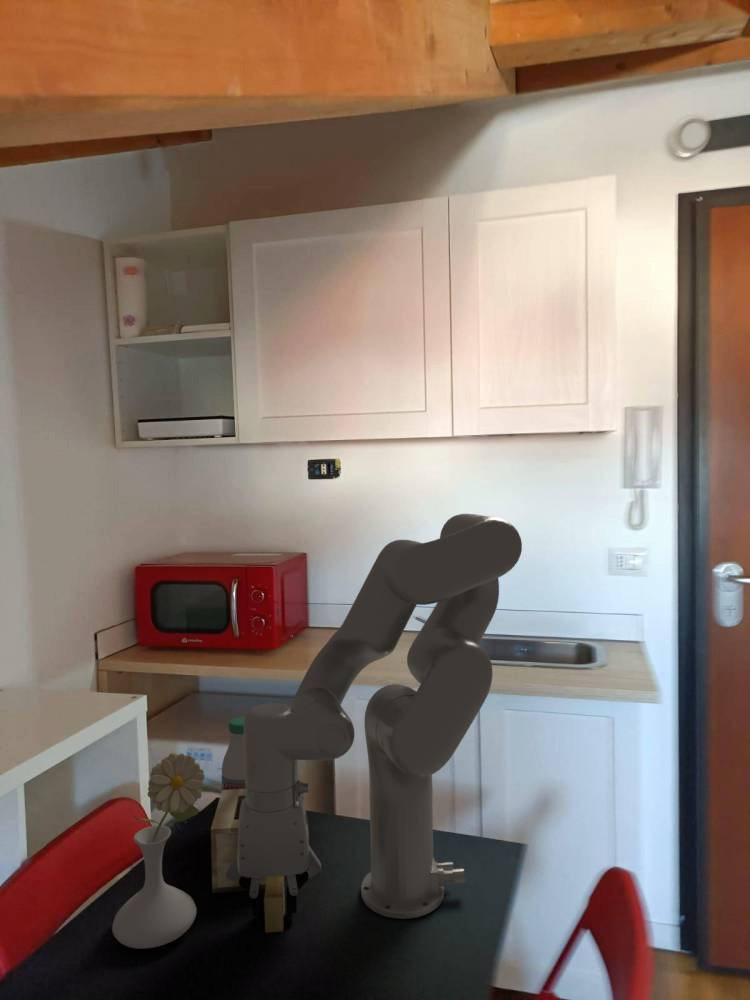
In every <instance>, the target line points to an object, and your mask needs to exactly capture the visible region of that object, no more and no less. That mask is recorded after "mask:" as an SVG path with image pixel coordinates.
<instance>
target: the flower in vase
mask: <svg viewBox="0 0 750 1000" xmlns="http://www.w3.org/2000/svg"><path fill="white" fill-rule="evenodd" d="M204 773H205V771H204V769H202V768H201V767H200V763H198V762H196V758H195V756H192V755H190V754H187V755H185V754H184V753H179V754H178V753H173V752H171V753H169V755H168V756H166V757H164V758H163V759H161V762H160V763H156V765H155V766H153V767H152V769H151V771H150V775H149V776H150V779H149V780H148V787H147V791H148V792H147V797H148V798H151V803H152V804H154V805H156V807H155V808H156V809H157V811H162V812H163V813H164V815H163V816H162V818H161V820H160V822H158V821H156V820H154V819H150V818H141V817H137V816H136V815H133V817H134V819H136V820H138V821H142V822H143V821H144V822H148V823H154V824H155V823H156V824H158V825H152V826H147V827H144V828H141V829H140V830H139V831H137V832H136V833H135V834H134V836H133V841H134V843H135V844H136V845H137V846H138V847H139V849H140V850H141V853H142V856H143V861H144V873H145V876H144V878H145V880H144V884H143V887H142V888H141V889H140V890H139V891H138V892H136V893H135V894H134V895H133V896H131V897H130V898H129V899H128V900H127V901H126V902H125V903H124V904H122V906H121V907H120V908H119V910H118V911H117V913H116V914H115V917H114V920H113V923H112V926H111V930H112V931H111V932H112V935H113V937H114V938H115V939H116V940H117V941H118V942H119V943H121V944H122V945H123V946H126V947H127V948H132V949H137V950H139V949H141V950H142V949H143V950H144V949H145V950H146V949H152V948H157V947H161V946H165V945H167V944H168V943H169V944H170V943H171V942H173V941H175V940H177V939H178V938H180V937H182V936H183V935H184V934H185V933H187V931H188V930H189V929H190V927H191V926H192V925H193V923H194V921H195V919H196V918H197V917H196V916H197V911H198V909H197V906H196V904H195V901H194V899H193V898H192V896H190V895H189V894H188V893H187V892H185V891H183V890H182V889H179V888H177V887H175V886H173V885H169V884H168V883H166V882H165V881H164V877H163V864H162V863H163V855H164V848H165V845H166V842H167V841H168V839H169V838H170V836H171V834H172V830H171V829H170V828H169V827H168V826H165V825H162V824H163V823H164V822H165V819H166V817H167V815H168V814H170V816H171V817H173V818H174V819H175V820H176V821H178V822H184V821H186V820H188V819H190V818H192V817H194V816H195V815H196V814H198V813H199V812H200V810H199V809H198V808H197V807H196V806H195V804H196V802H197V801H198V800H199V799H201V798H202V795H203V794H202V792H203V789H204V787H205V782H204V779H205V777H206V776H205V774H204Z"/></svg>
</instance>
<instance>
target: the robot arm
mask: <svg viewBox="0 0 750 1000" xmlns="http://www.w3.org/2000/svg"><path fill="white" fill-rule="evenodd" d="M522 548H523V543H522V539H521V536H520V534H519V531H518V529H517V528H516V527H515V526H514V525H513V524H512V523H510V522H509V521H508V520H506V519H503V518H501V517H497V516H490V515H489V516H488V515H482V514H475V513H460V514H456V515H454V516H451V517H450V518H449V519H448V520H446V522H444V524H443V526H442V529H441V531H440V536H439V538H437V539H434V540H430V541H427V542H419V541H417V540H411V539H396V540H393V541H391V542H389V543H388V544H386V545H385V546H384V547H382V550H381V551H380V552H379V553H378V556H377V557H376V559H375V561H374V563H373V564H372V567H371V568H370V570H369V572H368V575H367V576H366V578H365V580H364V582H363V584H362V587H360V590H359V591H358V593H357V596H356V597H355V600H354V602H353V603H352V605H351V607H350V609H349V611H348V613H347V614H346V616H345V619H344V620H343V622H342V624H341V625H340V627H338V629H337V630H336V631H335V632H334V633H333V634H332V635H331V637H330V639H329V640H328V641H327V642H326V643H325V645H323V647H322V648H321V649H320V650H319V651H318V653H317V654H316V656H315V657H314V659H313V660H312V662H311V664H310V665H309V668H308V669H307V671H306V673H305V675H304V677H303V679H302V681H301V682H300V684H299V687H298V689H297V691H296V693H295V695H294V696H293V700H292V703H291V706H290V705H288V704H285V703H278V702H269V703H262V704H258V705H256V706H253V707H251V708H250V709H248V710H247V712H246V713H245V715H244V717H245V718H244V758H245V797H246V798H245V799H243V800H242V802H241V807H240V814H239V824H238V841H237V853H236V855H235V856H234V858H233V860H232V861H231V863H230V865H229V867H228V868H227V872H226V877H227V878H228V879H230V880H232V881H234V882H236V883H239V885H240V886H241V887H242V888H244V889H245V890H246V892H247V893H248V895H249V897H250V898H251V902H252V904H251V906H252V908H251V909H252V911H251V913H252V917H256V925H257V926H262V925H263V922H264V916H265V902H264V897H265V896H264V889H263V888H262V885H261V884H260V877H269V876H286V878H287V886H286V894H285V895H286V896H285V904H286V905H285V907H286V908H285V909H286V923H287V924H292V922H293V914H297V913H298V893H299V890H300V889H302V887H303V886H304V885H305V884H306V883H307V882H308V881H309V879H311V878H313V877H314V876H316V875H317V874H319V873H320V872H321V871H322V862H321V861H320V859H319V858H318V857H317V855H316V854H315V852H314V850H313V849H312V847H311V846H310V835H309V834H310V833H309V822H308V812H307V807H306V806H307V805H306V801H305V798H304V794H307V793H309V782H303V781H301V780H300V779H299V761H316V762H317V761H318V762H319V761H320V762H321V761H322V762H325V761H326V762H327V761H333V760H336V759H339V758H341V757H343V756H344V755H345V754H347V752H349V750H350V749H351V748H352V746H353V743H354V740H355V727H354V724H353V721H352V719H351V718H350V716H349V715H348V714H347V712H346V711H345V710H344V708H343V707H342V703H343V700H344V698H345V697H346V695H347V694H348V691H349V689H350V687H351V686H352V684H353V682H354V681H355V679H356V678H357V677H358V676H359V674H360V672H362V671H363V669H364V668H366V667H367V666H368V665H370V664H372V663H374V662H376V661H379V660H382V659H384V658H386V657H387V656H389V655H391V654H392V653H393V651H394V650H395V648H396V647H397V644H398V643H399V641H400V639H401V637H402V635H403V633H404V631H405V628H406V627H407V624H408V622H409V621H410V620H411V617H412V615H413V613H414V611H415V609H416V607H417V606H418V605H419V606H425V605H426V606H427V605H432V604H435V607H434V608H433V610H432V611H431V612H430V614H429V616H428V618H427V620H426V621H425V623H424V624H423V625H422V626H421V627H422V628H421V629H420V631H419V632H418V633H417V636H416V637H415V638H414V640H413V641H412V644H411V645H410V647H409V650H408V652H407V656H406V663H407V664H406V665H407V668H408V670H409V673H410V674H411V675H412V676H413V677H414V679H415V680H416V682H418V683H419V684H420V685H419V686H418V688H417V690H415V689H413V688H412V687H410V686H407V685H404V684H399V683H398V684H397V683H395V684H387V685H384V686H382V687H380V688H379V689H378V690H377V691H376V692H374V693H373V694H372V696H371V698H370V699H369V700H368V702H367V705H366V709H365V711H364V712H365V713H364V734H365V735H364V736H365V743H366V751H367V759H368V760H367V761H368V779H369V782H368V783H369V826H370V827H369V831H370V833H369V834H370V835H369V836H370V837H369V838H370V842H369V843H370V872H369V873H367V874H366V875H365V876H364V877H363V880H362V882H361V887H360V893H361V898H362V901H363V902H364V904H365V906H367V907H368V908H369V909H370V910H371V911H372V912H374V913H376V914H377V915H381V916H383V917H386V918H391V919H397V920H407V919H415V918H420V917H423V916H425V915H428V914H430V913H432V912H433V911H435V910H436V909H437V908H438V907H439V906H440V905H441V904H442V902H443V900H444V896H445V885H446V884H462V883H463V884H464V883H465V882H466V874H465V869H464V868H463V867H462V868H454V862H453V861H444V862H438V861H437V860H435V857H434V829H433V827H434V823H433V822H434V821H433V820H434V819H433V817H434V815H433V790H434V789H433V775H434V774H436V773H437V772H438V771H440V770H441V769H442V768H444V766H445V765H446V764H447V763H448V762H449V761H450V759H451V758H452V757H453V755H454V754H455V752H456V750H457V749H458V747H459V746H460V744H461V742H462V741H463V739H464V738H465V735H466V734H467V732H468V730H469V729H470V727H471V725H472V724H473V722H474V720H475V719H476V717H477V715H478V714H479V712H480V710H481V708H482V706H483V705H484V703H485V702H486V699H487V697H488V696H489V693H490V690H491V687H492V682H493V665H492V661H491V659H490V656H489V654H488V653H487V651H486V650H485V649H484V648H483V646H481V645H480V643H481V641H482V639H483V637H484V635H485V633H486V631H487V629H488V627H489V625H490V623H491V622H492V619H493V618H494V616H495V613H496V610H497V608H498V603H499V597H500V580H499V579H500V577H503V576H504V575H507V574H508V573H509V572H510V571H511V570H512V569H514V567H515V566H516V565H517V563H518V561H519V560H520V558H521V554H522V551H523V549H522Z"/></svg>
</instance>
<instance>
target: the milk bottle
mask: <svg viewBox="0 0 750 1000" xmlns="http://www.w3.org/2000/svg"><path fill="white" fill-rule="evenodd" d="M244 718H245V716H239V717H235V718H233V719H231V720H229V722H228V730H229V732H228V735H229V736H230V740H229V743H228V745H227V746H228V747H227V750H226V752H225V754H224V757H223V760H222V765H221V791H222V790H231V789H245V758H244Z"/></svg>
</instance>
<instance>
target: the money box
mask: <svg viewBox="0 0 750 1000" xmlns="http://www.w3.org/2000/svg"><path fill="white" fill-rule="evenodd" d="M245 798H246V797H245V789H231V790H222V789H221V793H220V796H219V800H218V804H217V807H216V810H215V813H214V814H215V815H214V816H213V819H212V824H211V828H210V846H211V848H210V851H211V852H210V853H211V854H210V855H211V884H212V885H211V886H212V888H211V889H212V890H211V891H212V893H213V894H215V893H217V894H219V893H231V892H243V891H244V892H245V891H246V890H245V889H244V888H242V887H241V886H240V885H239V883H236V882H234V881H232V880H230V879H228V878H227V877H226V872H227V868H228V867H229V865H230V863H231V861H232V860H233V858H234V856H235V855H236V853H237V841H238V824H239V814H240V807H241V802H242V800H243V799H245ZM269 877H276V876H269ZM266 881H267V877H260V884H261V885H262V888H263V890H265V889H266ZM246 892H247V891H246Z"/></svg>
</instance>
